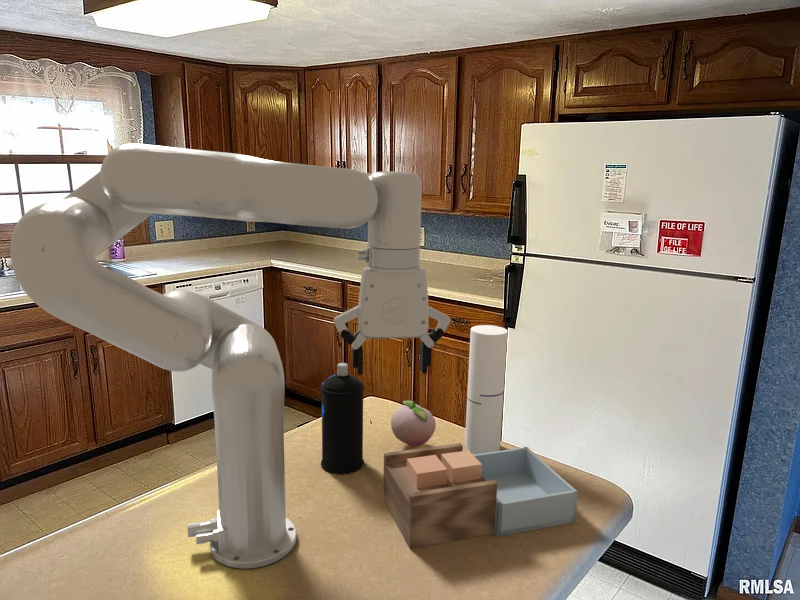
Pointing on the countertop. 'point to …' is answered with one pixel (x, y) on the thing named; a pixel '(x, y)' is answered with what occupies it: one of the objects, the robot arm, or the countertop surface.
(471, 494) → the brown wooden box
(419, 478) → the tile
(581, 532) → the countertop surface
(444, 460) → the tile
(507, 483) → the bin
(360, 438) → the aerosol can
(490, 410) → the cylindrical container
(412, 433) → the decorative fruit
